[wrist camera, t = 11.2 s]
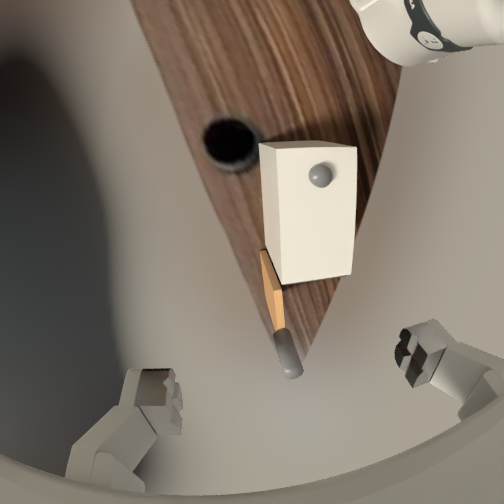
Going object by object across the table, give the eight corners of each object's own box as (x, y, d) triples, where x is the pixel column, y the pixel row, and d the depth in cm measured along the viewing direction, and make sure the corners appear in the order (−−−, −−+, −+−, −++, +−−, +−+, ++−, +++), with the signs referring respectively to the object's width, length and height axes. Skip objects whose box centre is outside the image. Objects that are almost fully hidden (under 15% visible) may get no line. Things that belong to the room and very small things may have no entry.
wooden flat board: (270, 249, 45) (302, 324, 28) (275, 295, 48) (303, 377, 32) (255, 251, 45) (279, 328, 28) (261, 298, 48) (284, 381, 32)
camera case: (258, 143, 38) (277, 149, 26) (325, 140, 39) (368, 148, 27) (265, 247, 45) (283, 291, 33) (325, 240, 45) (360, 278, 34)
